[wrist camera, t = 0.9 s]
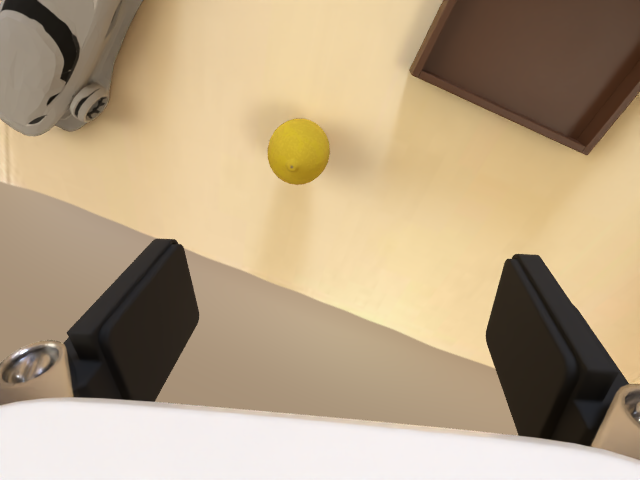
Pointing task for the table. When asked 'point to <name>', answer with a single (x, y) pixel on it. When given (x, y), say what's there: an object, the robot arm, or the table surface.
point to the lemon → (298, 151)
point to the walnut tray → (538, 62)
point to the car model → (58, 60)
